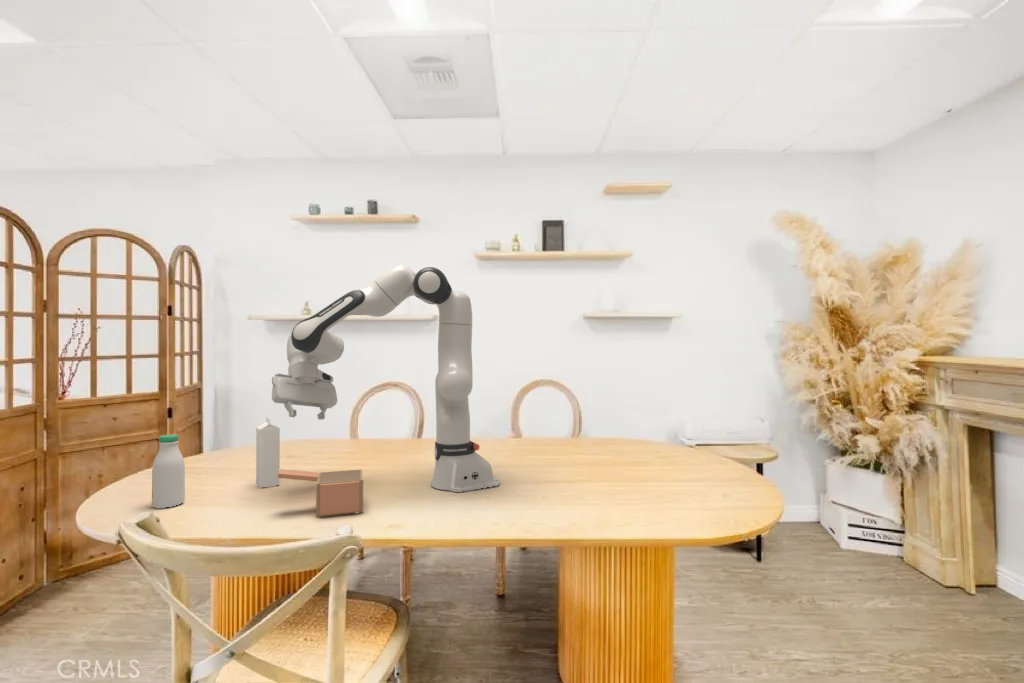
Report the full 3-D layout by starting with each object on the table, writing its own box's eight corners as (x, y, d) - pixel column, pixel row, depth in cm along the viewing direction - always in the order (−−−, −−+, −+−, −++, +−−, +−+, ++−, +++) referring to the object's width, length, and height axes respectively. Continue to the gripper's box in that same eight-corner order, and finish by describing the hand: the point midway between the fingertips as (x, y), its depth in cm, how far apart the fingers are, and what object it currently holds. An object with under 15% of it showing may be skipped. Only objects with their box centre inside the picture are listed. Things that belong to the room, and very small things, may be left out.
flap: (318, 472, 140) (280, 469, 137) (317, 477, 135) (278, 473, 132) (317, 476, 140) (279, 473, 137) (316, 481, 135) (277, 478, 132)
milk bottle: (191, 502, 144) (191, 433, 144) (164, 510, 137) (165, 438, 137) (172, 499, 147) (172, 432, 147) (145, 507, 139) (145, 436, 140)
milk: (259, 489, 158) (259, 420, 157) (255, 484, 162) (255, 417, 162) (280, 485, 161) (279, 418, 161) (276, 481, 166) (275, 416, 166)
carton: (361, 499, 147) (362, 469, 147) (363, 513, 135) (363, 480, 135) (318, 503, 143) (318, 472, 143) (315, 518, 131) (316, 484, 131)
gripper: (277, 368, 148) (279, 410, 142) (337, 377, 163) (342, 416, 157) (266, 377, 151) (268, 419, 145) (326, 385, 166) (331, 423, 160)
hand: (307, 417), depth 151 cm, fingers open, 8 cm apart
